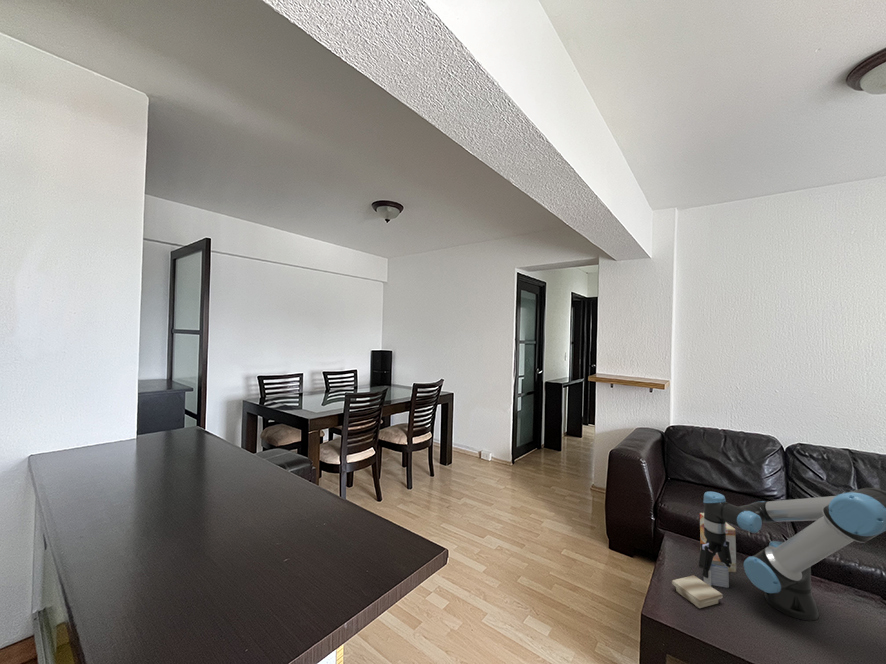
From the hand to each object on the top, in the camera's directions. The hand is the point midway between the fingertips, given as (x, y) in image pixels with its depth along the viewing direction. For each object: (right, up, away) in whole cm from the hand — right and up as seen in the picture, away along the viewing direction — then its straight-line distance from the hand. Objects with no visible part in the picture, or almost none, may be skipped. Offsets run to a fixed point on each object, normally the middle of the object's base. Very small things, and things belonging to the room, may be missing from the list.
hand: (715, 582), depth 153 cm
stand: (-14, 0, -8) cm, 17 cm away
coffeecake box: (+12, -1, +15) cm, 19 cm away
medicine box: (0, -1, 0) cm, 1 cm away
